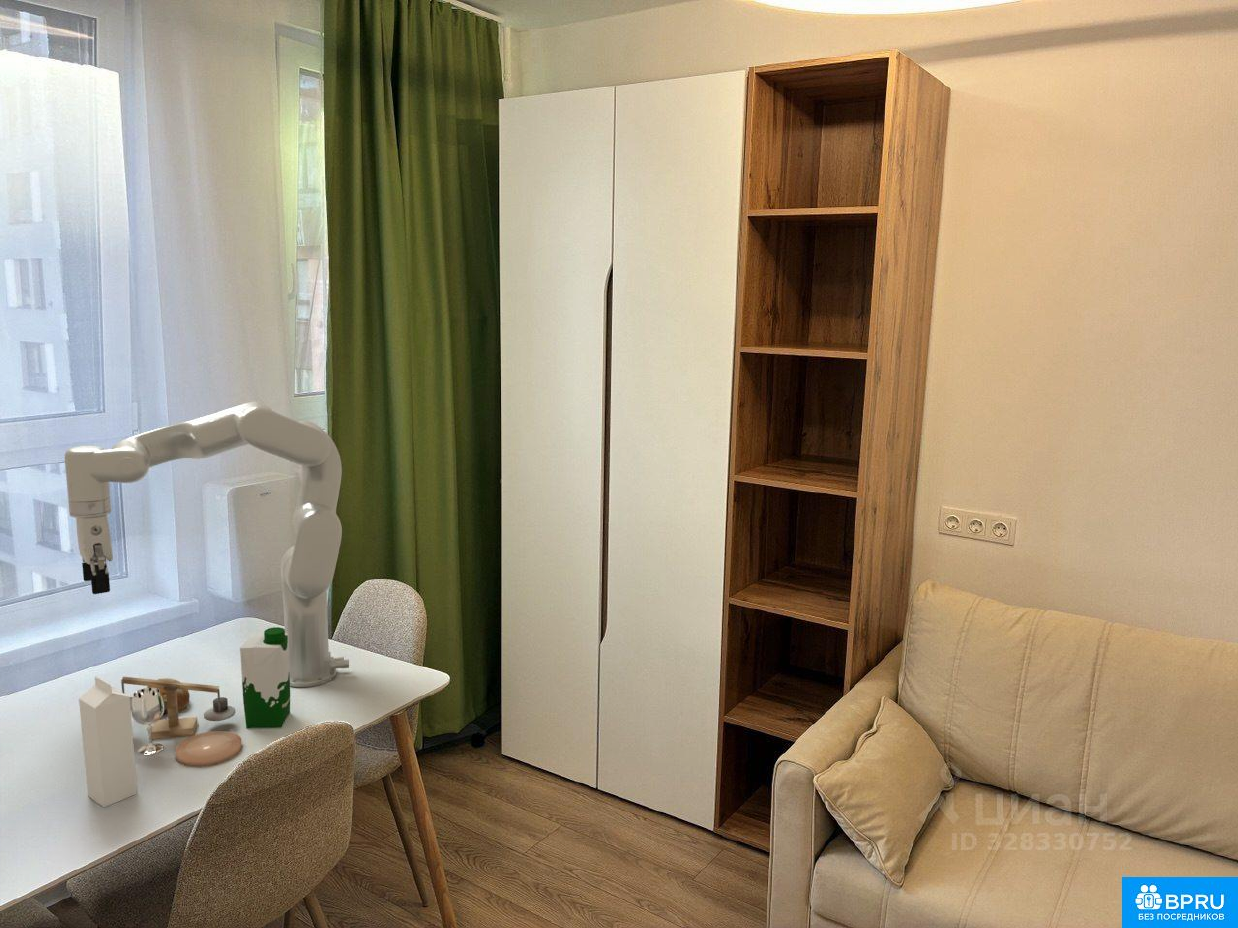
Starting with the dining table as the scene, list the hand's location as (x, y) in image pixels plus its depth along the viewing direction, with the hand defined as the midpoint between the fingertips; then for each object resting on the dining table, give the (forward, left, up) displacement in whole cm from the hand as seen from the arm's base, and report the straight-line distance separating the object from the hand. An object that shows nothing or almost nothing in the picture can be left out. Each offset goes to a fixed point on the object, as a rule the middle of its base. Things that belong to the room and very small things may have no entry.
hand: (96, 586), depth 195 cm
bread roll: (-12, +2, -28) cm, 30 cm away
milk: (-9, +37, -28) cm, 47 cm away
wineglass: (-13, +21, -28) cm, 37 cm away
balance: (-16, +14, -27) cm, 34 cm away
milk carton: (-34, +13, -28) cm, 45 cm away
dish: (-24, +24, -27) cm, 43 cm away
